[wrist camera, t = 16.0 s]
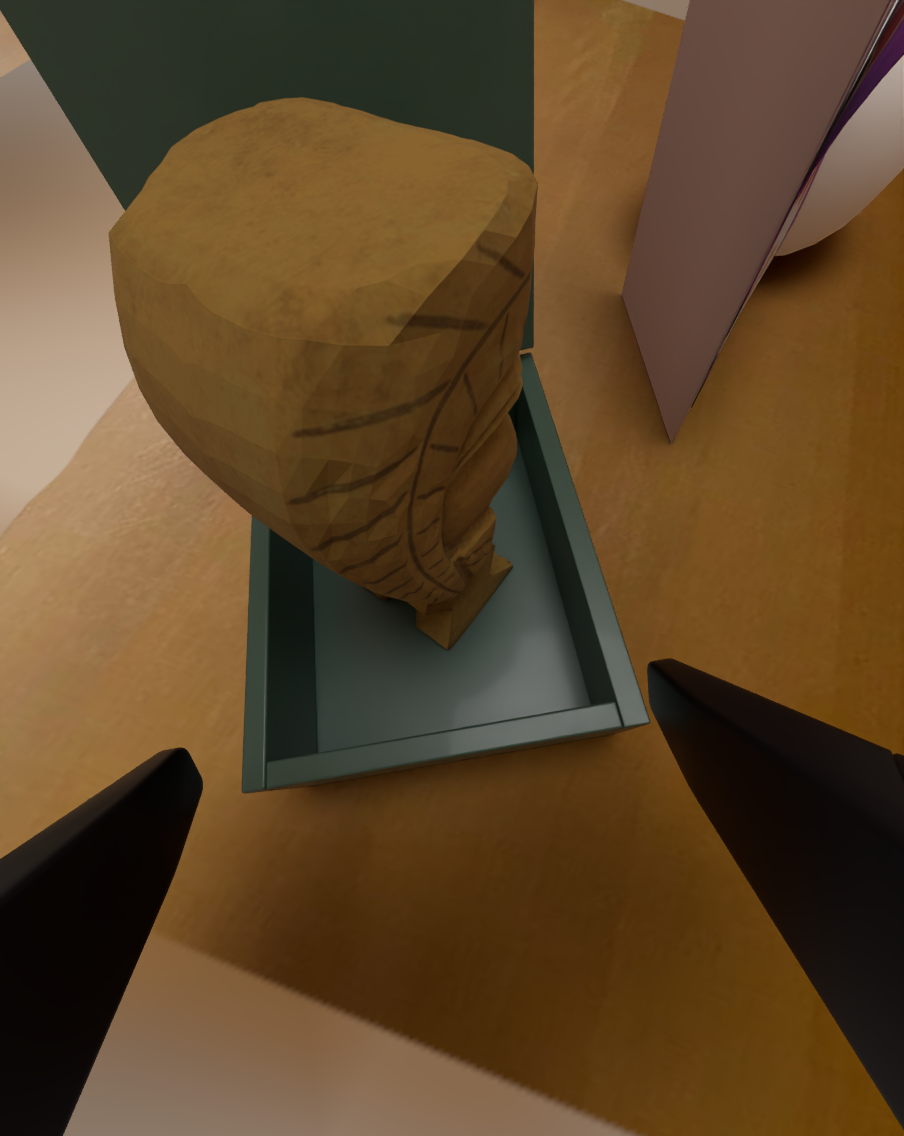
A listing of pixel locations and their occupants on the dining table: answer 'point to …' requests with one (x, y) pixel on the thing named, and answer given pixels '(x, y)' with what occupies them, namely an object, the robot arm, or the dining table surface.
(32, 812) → the dining table surface
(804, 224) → the cup
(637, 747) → the dining table surface
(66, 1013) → the robot arm
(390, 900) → the dining table surface
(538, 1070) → the dining table surface
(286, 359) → the figurine
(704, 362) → the greeting card
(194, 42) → the box lid
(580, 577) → the green open box
